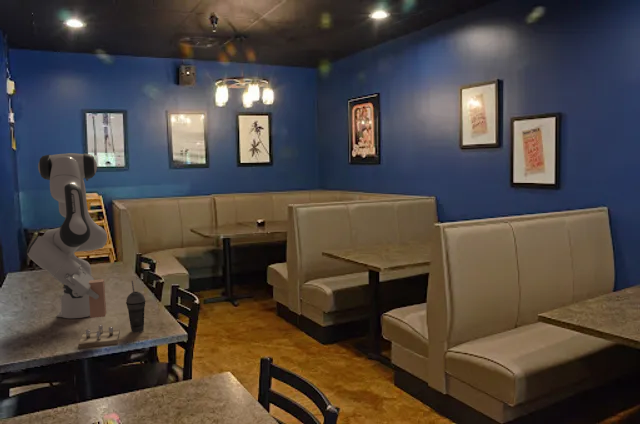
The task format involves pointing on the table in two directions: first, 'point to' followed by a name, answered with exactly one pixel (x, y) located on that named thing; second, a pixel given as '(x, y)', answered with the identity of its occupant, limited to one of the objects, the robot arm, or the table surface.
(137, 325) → the beverage cup
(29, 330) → the table surface
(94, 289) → the terracotta post
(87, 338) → the pin plate
